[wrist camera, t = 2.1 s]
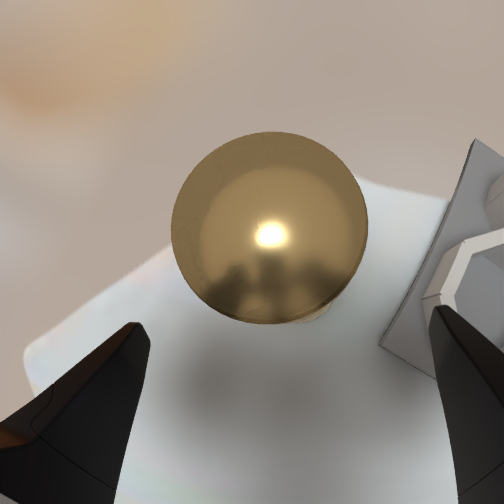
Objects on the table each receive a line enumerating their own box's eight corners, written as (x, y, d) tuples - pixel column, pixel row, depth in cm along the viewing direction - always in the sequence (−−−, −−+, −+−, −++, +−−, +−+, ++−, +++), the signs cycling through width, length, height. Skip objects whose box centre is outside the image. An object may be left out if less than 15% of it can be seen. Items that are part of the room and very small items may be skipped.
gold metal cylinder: (310, 339, 18) (295, 367, 6) (246, 296, 20) (134, 251, 8) (353, 272, 18) (403, 183, 7) (287, 232, 20) (238, 105, 8)
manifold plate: (480, 406, 15) (510, 420, 11) (378, 344, 17) (393, 349, 13) (553, 208, 16) (581, 190, 12) (470, 144, 18) (490, 115, 15)
